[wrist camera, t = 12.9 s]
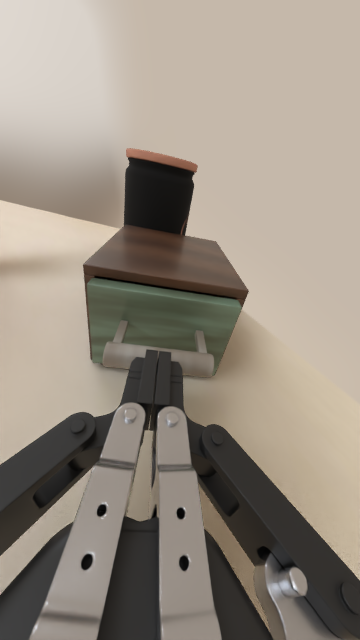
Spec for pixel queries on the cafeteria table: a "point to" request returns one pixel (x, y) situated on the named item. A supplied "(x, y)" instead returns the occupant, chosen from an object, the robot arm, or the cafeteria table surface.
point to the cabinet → (165, 264)
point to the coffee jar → (158, 191)
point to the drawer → (158, 324)
